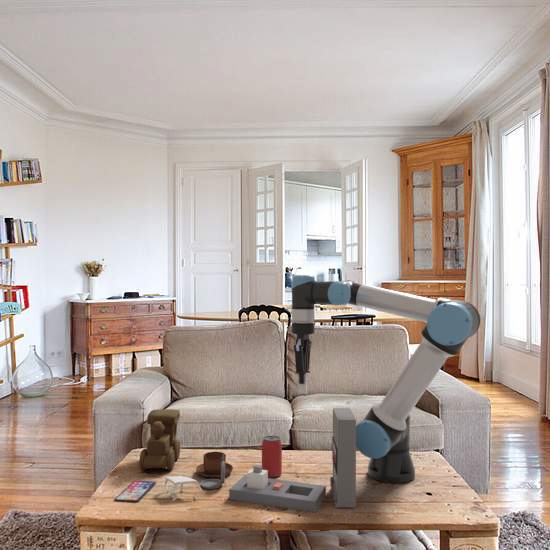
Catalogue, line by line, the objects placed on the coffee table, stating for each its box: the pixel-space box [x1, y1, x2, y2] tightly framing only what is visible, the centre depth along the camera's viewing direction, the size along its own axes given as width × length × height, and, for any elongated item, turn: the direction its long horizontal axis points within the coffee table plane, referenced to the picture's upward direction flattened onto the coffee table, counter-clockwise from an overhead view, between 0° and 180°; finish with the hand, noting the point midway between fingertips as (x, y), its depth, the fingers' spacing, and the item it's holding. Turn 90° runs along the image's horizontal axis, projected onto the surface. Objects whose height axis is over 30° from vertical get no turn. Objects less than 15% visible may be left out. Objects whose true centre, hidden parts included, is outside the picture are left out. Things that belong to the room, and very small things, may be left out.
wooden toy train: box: [138, 408, 181, 472], centre depth 194 cm, size 20×11×17 cm, turn 0°
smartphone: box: [113, 480, 157, 504], centre depth 170 cm, size 8×1×15 cm
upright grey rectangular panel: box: [329, 407, 357, 509], centre depth 165 cm, size 14×6×25 cm, turn 0°
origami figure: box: [164, 475, 203, 501], centre depth 167 cm, size 12×8×5 cm
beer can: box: [261, 435, 283, 478], centre depth 184 cm, size 7×7×12 cm
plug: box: [246, 464, 269, 490], centre depth 168 cm, size 5×4×8 cm
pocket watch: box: [200, 452, 226, 490], centre depth 175 cm, size 8×8×10 cm
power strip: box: [228, 474, 327, 513], centre depth 166 cm, size 26×12×4 cm, turn 71°
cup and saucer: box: [195, 451, 234, 479], centre depth 185 cm, size 12×12×6 cm
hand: (302, 393), depth 186 cm, fingers closed
